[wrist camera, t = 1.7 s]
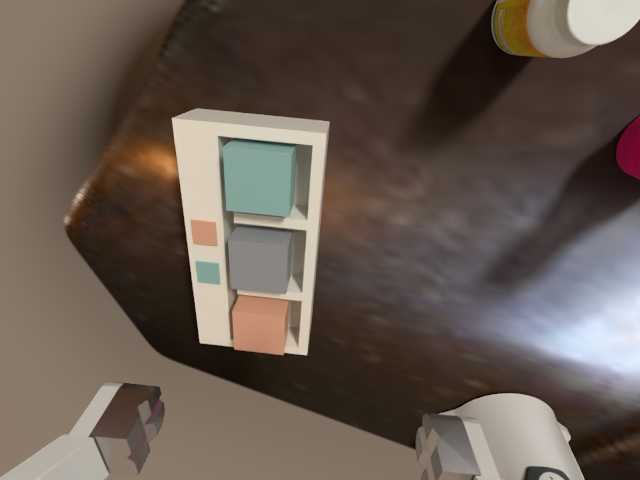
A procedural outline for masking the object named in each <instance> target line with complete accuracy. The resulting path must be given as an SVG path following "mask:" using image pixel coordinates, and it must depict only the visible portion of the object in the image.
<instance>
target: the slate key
mask: <svg viewBox="0 0 640 480" xmlns="http://www.w3.org/2000/svg"><path fill="white" fill-rule="evenodd" d="M292 237H293V230H284V229H274V228H265V227H255V226H246V225H237V227H236V228H235V230H234V231H233V233H232V235H231V236H230V238H229V239H228V249H229V267H230V284H231V289H240V290H249V291H259V292H268V293H277V294H286V292H287V288H288V284H289V280H290V276H291V258H292Z"/></svg>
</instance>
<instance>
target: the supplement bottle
mask: <svg viewBox="0 0 640 480" xmlns="http://www.w3.org/2000/svg"><path fill="white" fill-rule="evenodd" d="M639 19H640V0H497V2H496V4H495V6H494V9H493V12H492V22H491V28H492V34H493V38H494V40H495V42H496V44H497V45H498V46H499V47H500V48H501V49H502V50H503V51H505V52H506V53H509V54H512V55H518V56H533V57H552V58H567V57H572V56H576V55H579V54H582V53H585V52H587V51H589V50H590V49H592V48H594V47H595V46H597V45H602V44H606V43H609V42H612V41H614V40H616V39H617V38H619V37H621V36H622V35H624V34H625V33H626V32H628V31H629V30H630V29H631V28H632V27H633V26H634V25H635V24H636V23H637V22H638V21H639Z"/></svg>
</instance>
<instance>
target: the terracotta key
mask: <svg viewBox="0 0 640 480" xmlns="http://www.w3.org/2000/svg"><path fill="white" fill-rule="evenodd" d="M232 319H233V336H234V349H235V350H243V351H252V352H261V353H270V354H278V355H284V350H285V345H286V341H287V336H288V320H289V300H287V299H278V298H269V297H260V296H251V295H242V294H240V295H239V297H238V299H237V301H236V304H235V306H234V308H233V310H232Z"/></svg>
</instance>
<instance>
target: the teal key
mask: <svg viewBox="0 0 640 480" xmlns="http://www.w3.org/2000/svg"><path fill="white" fill-rule="evenodd" d="M296 153H297V144H288V143H278V142H268V141H258V140H248V139H238V138H234V139H233V140H231V141H230V142H229V143H227V144H226V145H225V146H224V147H223V162H224V179H225V197H226V211H236V212H245V213H255V214H264V215H274V216H283V217H289V216H290V213H291V210H292V207H293V205H294V195H295V174H296Z"/></svg>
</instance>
